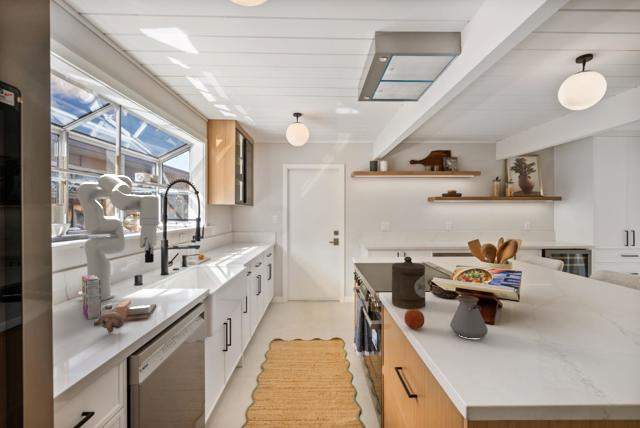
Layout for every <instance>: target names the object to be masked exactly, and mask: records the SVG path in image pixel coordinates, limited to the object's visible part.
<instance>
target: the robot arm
mask: <svg viewBox="0 0 640 428" xmlns="http://www.w3.org/2000/svg"><path fill="white" fill-rule="evenodd" d="M132 188H133V181H132V180H131V178H129V177H128V176H126V175H119V174H118V175H117V174H103V175H101V176H99V178H98V179H97V182H94V181H93V182H91V181H89V182H83V183H81V184H79V186H78V189H77V193H76V194H77V199H78V202H79V204H80V206H81V208H82V212H83V219H84V220H83V221H84V226H85V231H86V233H87V234H88V235H90V236H97V237H92V238H89V239H87V240H86V241H85V243H84V251H85V257H86V264H87V265H86V268H87V269H86V270H87V273H86V274H87V275H86V276H90V275H96V276H97V277H98V278H100V294H101V301H105V300H109V299H112V298H114V297H115V293H113V292H111V291H112V289H111V285H112V283H111V281H112V280H111V277H112V276H111V275H112V274H111V262H110V260H109V259H108V258H107V255H109V256H110V255H116V254H121V253H122V252H124V251H125V249H126V239H125V233H124V228H123V222H122V221H121V219H120V218H119V217H116V216H106V215H105V211H104V207H103V206H102V204H100V202H99V201H97V200H109V201H110V203H111V205H112V206H114V207H115V208H116V209H118V210H119V211H122V212H139V226H141V227H140V235H139V236H140V237H139V238H140V239H139V248H140V249H142V248H144V263H145V264H151V263H154V261H155V260H154V258H155V257H154V256H155V254H154V249H155V248H154V247H155V246H156V245H157V239H158V238H157V237H158V236H157V235H158V234H157V227H158V226H159V225H160V224H159V223H160V222H159V220H160V219H159V218H160V217H159V212H160V210H159V207H160V206H159V204H160V203H159V202H160V201H159V197H158V196H157V195H152V194H151V195H149V194H147V195H145V194H144V195H141V194H140V195H138V194H131V192H132ZM102 235H104V236H102ZM105 235H108V236H105ZM77 296H78V297H82V291H79V292H78V293H77Z"/></svg>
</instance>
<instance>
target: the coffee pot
mask: <svg viewBox="0 0 640 428" xmlns="http://www.w3.org/2000/svg"><path fill="white" fill-rule="evenodd" d="M456 299H457V300H458V302H459V304H458V306H457V309H456V311H455V313H454V315H453V316H452V318H451V319H452V320H451V321H450V323H449V326H450V328H451V330H452V331H453V333H455V334H456V335H457V334H458V335H460V336H463V337H467V338H481V337H482V338H484V337H485V336H486V335H487V333H488V327H487V325H486V322H485V320H484V318H483V316H482V314H481V312H480V311H481V307H480V306H479V305H478V302H479V299H480V298H478V297H476V296H473V295H472V296H471V295H465V294H464V295H458V296H457V297H456ZM478 307H479V308H478ZM458 335H457V336H458ZM482 338H481V339H482Z"/></svg>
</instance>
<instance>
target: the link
mask: <svg viewBox="0 0 640 428" xmlns="http://www.w3.org/2000/svg"><path fill="white" fill-rule="evenodd" d="M147 305H148V306H141V305H135V306H136V307H131V306H127V315H136V314H147V313H149V312H150V311H151V304H147ZM116 307H117V306H113V305H112V304H109V305H105V307H104V308H101V315H102V314H104V313H108V312H116Z"/></svg>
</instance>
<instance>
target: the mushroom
mask: <svg viewBox="0 0 640 428" xmlns="http://www.w3.org/2000/svg"><path fill="white" fill-rule="evenodd" d="M98 319H99V323H100V324H101V325H100V326H101V327H102V328H104V329H106V330H107V332H108V334H112V333H113V332H114V330H115V329H118V330H119V329H121V328H122V327H123V326H124V325H125V324H124V323H125V322H124V319H123V317H122V316H121V315H120V314H118V313H117V312H108V313H104V314H102V315H101V316H100V317H98Z"/></svg>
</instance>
